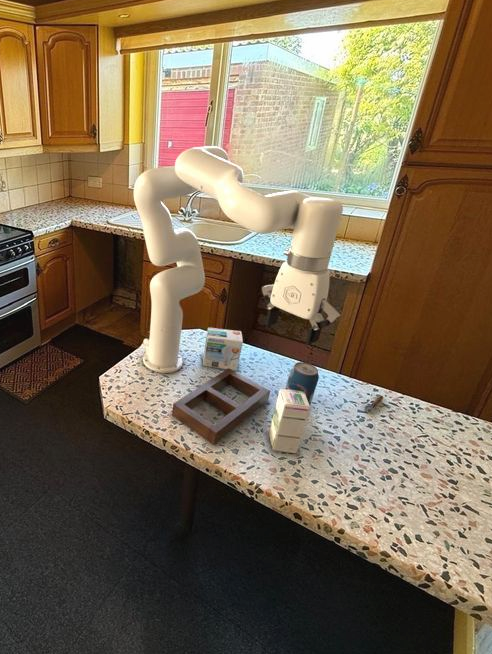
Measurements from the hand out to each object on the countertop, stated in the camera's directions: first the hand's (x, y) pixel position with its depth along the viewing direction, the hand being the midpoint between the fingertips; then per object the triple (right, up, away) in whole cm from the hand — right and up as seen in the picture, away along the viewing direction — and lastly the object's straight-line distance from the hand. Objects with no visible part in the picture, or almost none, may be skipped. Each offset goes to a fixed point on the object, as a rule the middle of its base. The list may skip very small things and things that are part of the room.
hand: (290, 333), depth 89 cm
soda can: (+12, -21, +22) cm, 33 cm away
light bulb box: (-3, -13, +40) cm, 42 cm away
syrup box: (+2, -28, +9) cm, 30 cm away
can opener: (+34, -22, +22) cm, 46 cm away
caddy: (-9, -22, +20) cm, 31 cm away
